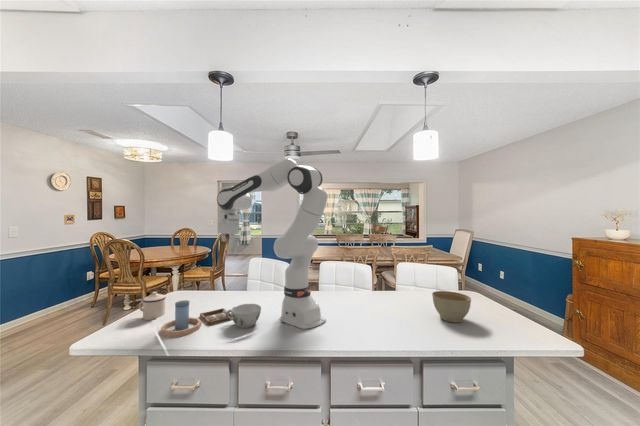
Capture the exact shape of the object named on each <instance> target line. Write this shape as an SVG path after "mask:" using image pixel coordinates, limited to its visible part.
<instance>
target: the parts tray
mask: <svg viewBox="0 0 640 426" xmlns="http://www.w3.org/2000/svg"><path fill="white" fill-rule="evenodd" d="M224 310H226V309H225V308H217V309H215V310H211V311H206V312H201V313H199V319H200V318H201V320H202V321H204V322H205V324H207V325H208V326H213V325H217V324H221V323H224V322H225V323H226V322H229V321H231V320H230V319H229V318H228V316H227V317H225V318H221V319H219V315H220V314H221V313H222V312H223V311H224ZM212 315H215V316H216V317H217V320H213V321H210V320H209V319H210V317H211V316H212ZM229 316H230V317H231V318H232V315H231V312H230V313H229Z"/></svg>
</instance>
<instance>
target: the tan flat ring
mask: <svg viewBox="0 0 640 426" xmlns="http://www.w3.org/2000/svg"><path fill="white" fill-rule="evenodd" d="M191 323H192V324H196V325H193V326H191V327H189V328H188V329H184V330H179V331H175V330H168V329H169V328H171V327H174V326H175V319H173V320H170V321H168V322H166V323H164V324H163V325H162V326H161V327H160V333H161V335H162V336H163V337H166V338H175V337H177V338H178V337H184V336H187V335H190V334H193V333H195V332H196V331H198V330H200V328H201V326H202V319H200V317H199V318H198V317H193V316H191V317H190V316H189V324H191Z"/></svg>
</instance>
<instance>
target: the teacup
mask: <svg viewBox="0 0 640 426" xmlns="http://www.w3.org/2000/svg"><path fill="white" fill-rule="evenodd" d="M261 310H262V306H261V305H259V304H256V303H244V304H239V305H237V306H233V307H231V309H228V310H227V311H228V312H227V316H228V318H229V319H230V320H229V321H233V323H234V324H235V326H237V328H241V329H247V328H251V327H253V326H254V325H256V323H257V322H258V320H259V318H260V315H261ZM229 313H231V315H232V318H231V317H230V316H229Z"/></svg>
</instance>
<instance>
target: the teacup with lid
mask: <svg viewBox="0 0 640 426" xmlns="http://www.w3.org/2000/svg"><path fill="white" fill-rule="evenodd" d="M166 297H167V296H166V295H165V294H162V293H158V291H153V292H151V294H150V295H148V296H145V297H144V298H143V299H142V301H140V302H139V303H138V309H139V310H140V312H142V319H143V320H144V321H155V320H157V319H158V318H161V317H163V316H165V314H166V312H165V311H166Z"/></svg>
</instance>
